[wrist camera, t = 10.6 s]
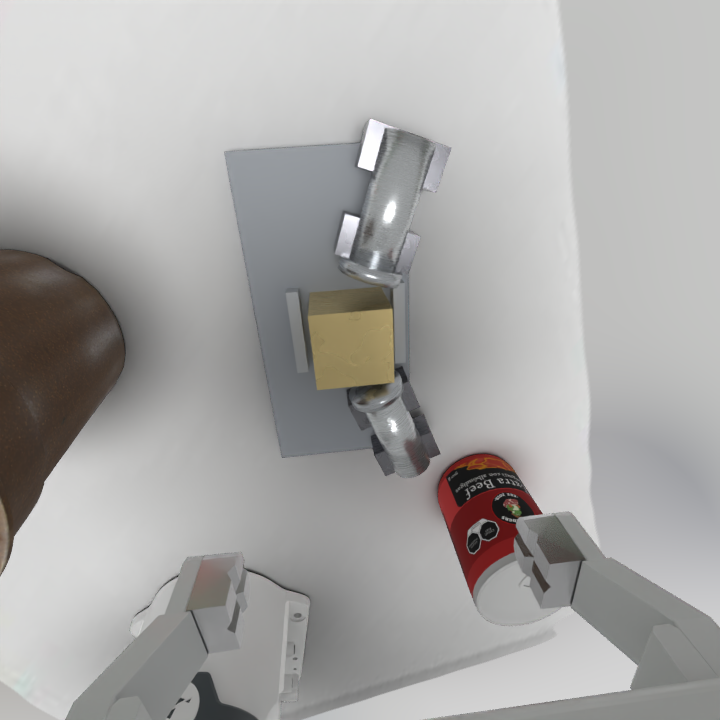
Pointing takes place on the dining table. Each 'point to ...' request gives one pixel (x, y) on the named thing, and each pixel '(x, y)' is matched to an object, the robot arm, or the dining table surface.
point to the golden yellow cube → (351, 337)
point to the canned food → (490, 536)
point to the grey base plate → (303, 281)
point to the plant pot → (46, 375)
